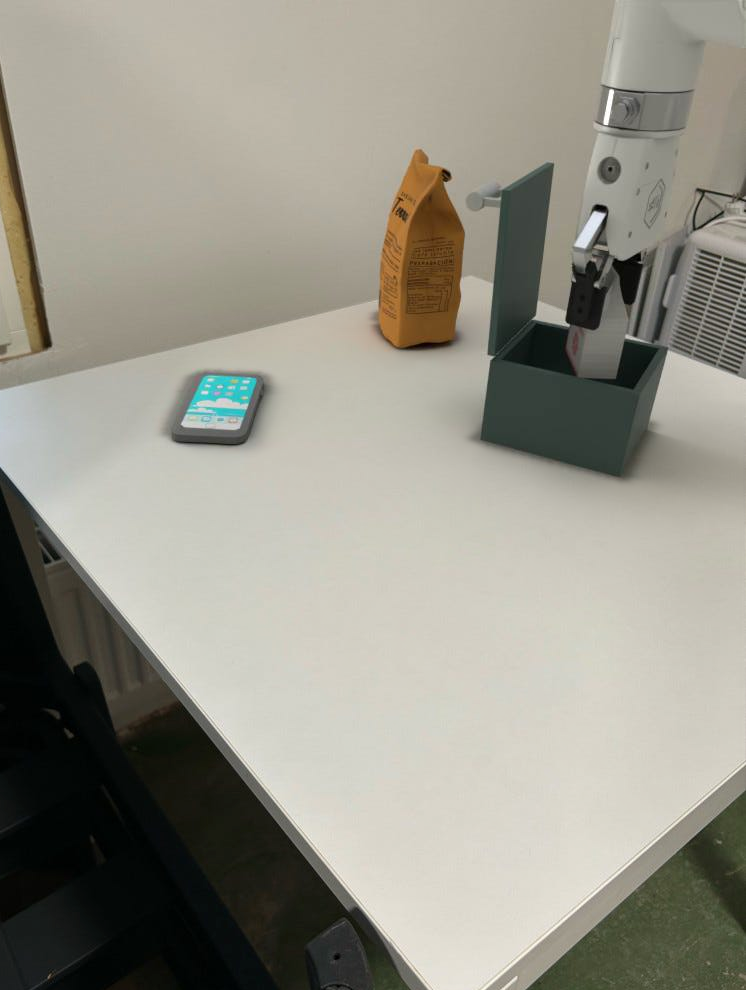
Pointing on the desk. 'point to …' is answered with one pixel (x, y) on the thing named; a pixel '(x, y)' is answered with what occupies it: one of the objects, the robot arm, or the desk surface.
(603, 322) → the white paper food bag
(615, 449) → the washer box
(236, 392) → the smartphone
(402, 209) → the coffee package
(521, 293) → the green box lid
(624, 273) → the robot arm
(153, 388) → the desk surface
